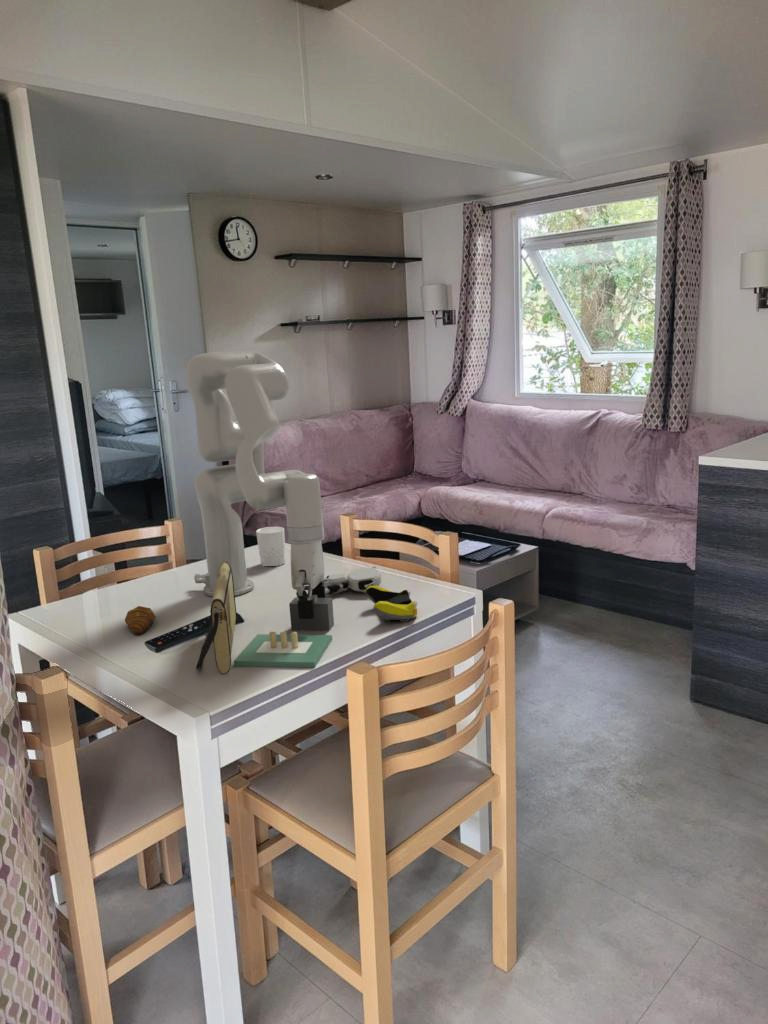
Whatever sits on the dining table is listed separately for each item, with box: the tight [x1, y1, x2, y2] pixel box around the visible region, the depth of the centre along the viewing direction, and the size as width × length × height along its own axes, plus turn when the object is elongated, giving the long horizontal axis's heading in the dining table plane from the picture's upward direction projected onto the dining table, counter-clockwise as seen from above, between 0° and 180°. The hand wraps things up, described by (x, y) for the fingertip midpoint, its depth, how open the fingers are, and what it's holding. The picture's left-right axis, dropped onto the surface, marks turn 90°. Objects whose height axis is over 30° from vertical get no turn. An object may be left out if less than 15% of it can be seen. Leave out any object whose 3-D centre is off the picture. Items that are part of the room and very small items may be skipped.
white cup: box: [255, 526, 286, 567], centre depth 217 cm, size 8×8×10 cm
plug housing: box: [288, 595, 335, 632], centre depth 165 cm, size 8×4×7 cm, turn 80°
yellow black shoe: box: [365, 586, 418, 622], centre depth 170 cm, size 15×6×10 cm
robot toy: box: [323, 565, 382, 595], centre depth 190 cm, size 12×4×15 cm
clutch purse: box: [195, 562, 238, 675], centre depth 154 cm, size 30×7×15 cm, turn 8°
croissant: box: [124, 605, 157, 636], centre depth 172 cm, size 14×7×5 cm, turn 11°
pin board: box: [233, 631, 333, 668], centre depth 152 cm, size 16×14×4 cm
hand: (312, 610), depth 164 cm, fingers open, 9 cm apart
